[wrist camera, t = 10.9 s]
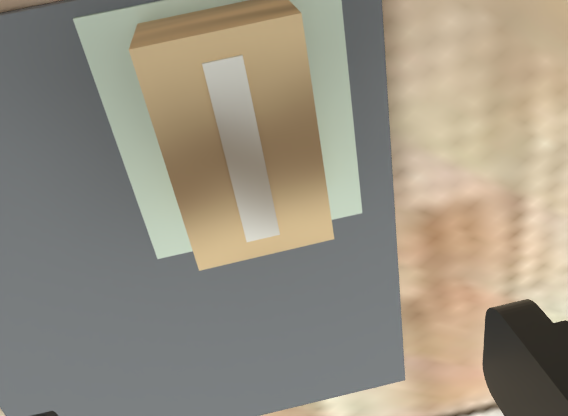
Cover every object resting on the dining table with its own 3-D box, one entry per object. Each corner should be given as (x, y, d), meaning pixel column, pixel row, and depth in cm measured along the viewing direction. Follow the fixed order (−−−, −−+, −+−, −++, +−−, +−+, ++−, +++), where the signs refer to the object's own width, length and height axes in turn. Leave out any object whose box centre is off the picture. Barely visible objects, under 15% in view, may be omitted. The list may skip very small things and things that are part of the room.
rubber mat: (43, 458, 29) (40, 472, 29) (-219, 55, 18) (-234, 62, 17) (401, 371, 30) (406, 382, 30) (372, -61, 19) (379, -59, 18)
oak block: (137, 23, 18) (128, 50, 15) (282, -7, 18) (302, 13, 15) (197, 220, 22) (199, 272, 19) (314, 193, 23) (335, 240, 20)
